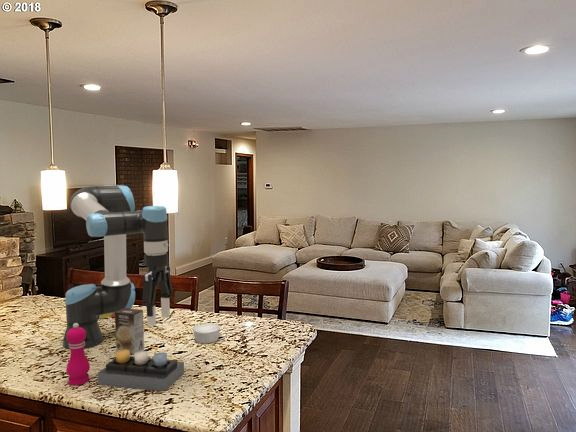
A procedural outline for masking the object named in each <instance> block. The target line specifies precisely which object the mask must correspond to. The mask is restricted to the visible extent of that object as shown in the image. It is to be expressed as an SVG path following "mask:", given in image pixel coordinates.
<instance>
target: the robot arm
mask: <svg viewBox="0 0 576 432" xmlns="http://www.w3.org/2000/svg"><path fill="white" fill-rule="evenodd" d="M69 207H70V209H71V211H72V213H73V214H74V215H75V216H77V217H79V218H82V219H84V220H85V226H86V231H87V234H88V236H90V238H91V237H95V238H96V237H99V238H101V237H103V244H104V248H103V251H104V252H103V253H104V278H103V279H102V280H101V282H100V286H97V285H96V284H94V283H89V284H80V285H77V286H73V287H71V288H70V289H68V290H67V291H66V292H65V298H64V299H65V301H64V304H65V314H66V315H65V316H66V317H65V318H66V329H65V332H64V336H63V338H62V346H63V348H65V347H66V348H65V349H68V348H69V341H68V340H67V338H66V335H67V332H68V331H69V330H70V329H71V328H73V324H74V323H78V324H79V326H78V327H81V328H83V329H84V330H85V331H86V338H85V339H84V341H85V346H84V349H87V348H91V347H95V346H98V345H100V344H101V343H103V341H104V334H103V332H102V329H101V327H100V324H99V321H98V320H99V319H98V318H97V317H98V315H103V314H108V313H114V312H116V311H118V310H121V309H123V308H131V309H132V308H133V307H134V305H135V304H134V303H135V300H136V291H135V290H136V287H135V285H134V283H133V282H131V279H130V278H129V277H128V276H127V235H131V234H132V235H133V234H143V253H144V256H143V257H144V266H145V267H147V268H148V270H147V273H146V274H145V273H144V274H143V275H142V280H143V283H142V300H141V301H142V302H141V305H142V307H145V308H146V323H147V324H146V325H147V326H148V327H156V326H157V314H156V313H157V312H156V310H157V309H156V305H155V301H156V294H157V290H158V287H159V290H160V293H161V297H160V308H161V309H160V310H161V311H160V312H161V313H160V314H161V317H162V318H170V317H171V315H170V314H171V313H170V312H171V311H170V309H171V308H170V306H171V305H170V298H172V297H173V292H174V291H173V285H172V279H171V267H170V266H167V265H169V253H168V251H169V243H168V239H169V238H168V215H167V213H168V212H167V208H166V207H165V206H163V205H149V206H148V205H147V206H144V207H142V209H138V210H135V209H136V204H135V199H134V195H133V192H132V191H131V189H130V187H128V185H119V184H116V185H115V184H113V185H112V184H111V185H96V186H95V185H89V186H85V187H82V188H79V189H78V190H77V191H75V192H74V193H73V194H72V195H71V197H70V200H69Z"/></svg>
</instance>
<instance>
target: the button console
mask: <svg viewBox="0 0 576 432" xmlns="http://www.w3.org/2000/svg"><path fill="white" fill-rule="evenodd" d="M184 374H185V362H184V361H181V360H175V359H167V364H166V365H164V368H159V367H157V366H154V358H153V357H148V363H146V364H145V366H138V365H137V364H135V357H134V356H130V360H129V361H128V362H127V364H126V365H125V364H119V363H117V362H116V357H115V358H114V359H112V360H111V361H109V362H107V363H106V364H105V367H104V368H103V369H101V370H99V371H98V372H97V385H98V386H99V385H100V386H108V387H119V388H128V389H138V390H148V391H149V390H150V391H155V392H156V391H157V392H159V391H160V392H166V391H167V390H168V389H169V388H170V387H171V386H172V385H173V384H174V383H176V382H177V380H178V379H180V378H181V377H182V376H183V375H184Z"/></svg>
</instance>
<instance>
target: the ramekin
mask: <svg viewBox="0 0 576 432" xmlns="http://www.w3.org/2000/svg"><path fill="white" fill-rule="evenodd" d="M220 330H221V326H220V325H219V324H217V323H211V322H210V323H201V324H198V325H194V326H193V328H192V332H193V335H194V340H195V341H196V342H197V344H198V343H199V344H211V343H215V342H217V341H218V340H219V337H220Z"/></svg>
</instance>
